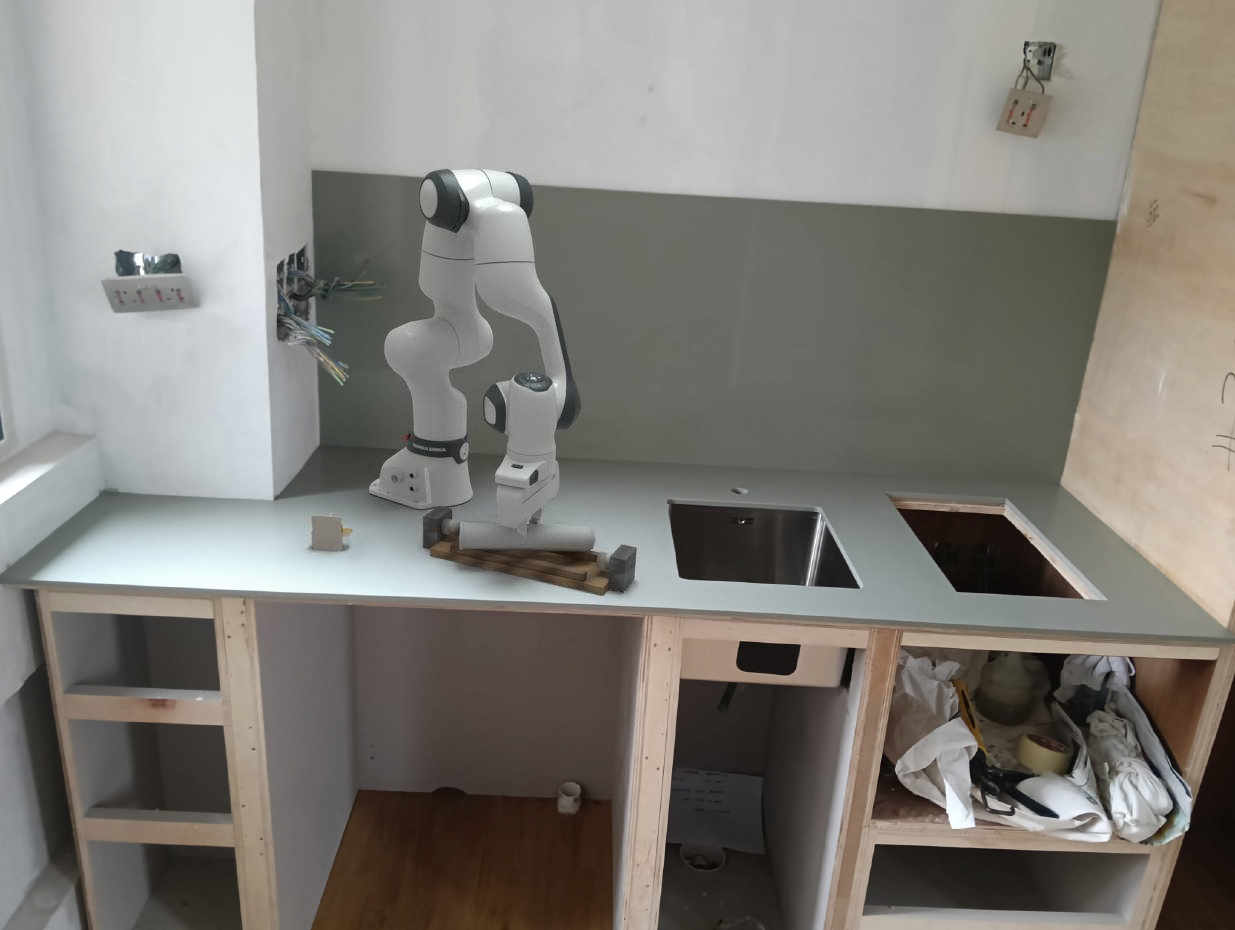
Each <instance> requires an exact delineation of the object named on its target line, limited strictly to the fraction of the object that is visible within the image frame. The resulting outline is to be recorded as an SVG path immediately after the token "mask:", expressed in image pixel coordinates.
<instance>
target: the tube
mask: <svg viewBox="0 0 1235 930" xmlns="http://www.w3.org/2000/svg"><path fill="white" fill-rule="evenodd" d="M526 524H527V528H529V530H528V533H527V536H526V539H525V538H524V536H522V535H521V534H519V533H518V532H517V528H508V527H504V526H500V525H499V523H498V522H473V521H472V522H471V521H470V522H469V521H465V520H461V523H460V536H459V547H460V550H463V549H501V550H537V551H574V552H587V551H589V550H594V547H595V543H596V540H597V539H596V534H595V530H594V528H592V527H590V526H589V525H576V524H575V525H573V524H572V525H571V524H529V523H526Z"/></svg>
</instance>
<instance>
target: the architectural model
mask: <svg viewBox="0 0 1235 930" xmlns="http://www.w3.org/2000/svg"><path fill="white" fill-rule="evenodd" d="M310 517H311V549H312V550H318V551H331V552H343V538H350V536H351V534H352V533H353V531H354V528H351V527H350V528H349V527H348V528H347V527H343V526H344V525H343V524H342V516H335V515H334V516H333V512H330V513H329V514H328V515H316V514H315V515H314V514H312V515H310Z"/></svg>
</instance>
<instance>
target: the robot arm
mask: <svg viewBox="0 0 1235 930" xmlns="http://www.w3.org/2000/svg"><path fill="white" fill-rule="evenodd" d="M418 201H419V202H418V204H419V209H420V212H421V214H422V216H423V217H424V218H425V220H426V221H425V225H424V231H423V235H422V241H421V242H422V243H421V251H420V253H421V254H420V264H419V274H418V285H419V287H420V290H421V292H422V293H423V294H424V295H425V296H426V297H427V298H428V299H431V300H432V302H433V305H434V306H433V307H434V314H433V317H430V318H425V319H420V320H414V321H409V322H407V323H404V324H402V325H400V326H398V327H396V328H393V329H392V330H390V331H389V332H388V334H387V335H386V337H385V340H384V344H383V349H384V351H383V352H384V356H385V361H386V362H387V364H388V366H389V367H390V369H392V371H394V373H396V374H398V375H399V376H400V377H401V378H402V379H403V380H404V382H405V383H406V385H407V386H408V389H409V392H410V395H411V398H412V399H411V401H412V414H413V430H411V431H409V432H407V434H405V435H404V436H402V438H403V439H402V442H406V441H407V444H406V445H405V447H404V448H402V449H401V450H399V451H398V452H396V453H395V454H394V455H391V456H390V457H389V458H388V459H386V461H384V462H383V464H382V465H381V466H382V467H381V470H380V474H379V477H378V478H377V479H375V480H374V481H373V482H372V483H370V485H369V489H368V493H369V494H371V495H373V496H377V497H380V498H383V499H386V500H389V501H392V502H395V503H398V504H401V505H405V506H407V507H410V508H413V509H416V510H424V509H425V510H426V509H430V508H436V507H438V506H442V507H451V506H457V505H461V504H463V503H466V502H468V501H469V500H472V498H473V496H474V491H473V488H472V485H471V484H472V483H471V481H470V474H469V473H470V472H469V466H468V465H469V464H468V458H469V457H468V456H469V432H468V431H467V420H468V419H467V415H468V414H467V412H468V410H467V407H468V405H467V404H468V403H467V399H466V397H465V394H464V393H463V392H461V391H460V390H458V389H457V388H455V387H454V386H452V383H451V380H450V375H449V373H450V370H453V369H458V368H462V367H465V366H470V365H471V366H472V364H474V363H477V362H479V361H480V360H483V359H485V358H486V357H488V355H489V354H490V353H491V351H492V350H493V345H494V334H493V330H492V328H491V325H490V324H489V322H488V321H487V319H485V317H483V316H482V315H481V313H480V311H479V308H478V304H477V300H476V290H477V293H478V296H479V297H480V298H481V300H482V302H483V303H485V304H486V305H487V306H488V307H489V308H491V309H492V310H493V311H496V312H497V313H499V314H502V315H504V316H507V317H510V318H513V319H516V320H519V321H520V322H522V323H525V324H526V325H528V326H529V327H531V328H532V330H533V331H534V332H535V334H536V336H537V340H538V343H539V347H540V352H541V357H542V361H543V365H544V369H545V374H544V373H541V372H537V371H523V372H519V373H517V374H515V375H513V377H512V378H511V379H510V380H503V381H499V382H493V383H492V384H491V385H490V386H489V387H488V389H487V390H486V391H485V394H484V395H483V399H482V400H483V401H482V411H483V420H484V422H485V423H486V424H487V425H488V426H489V428H491V429H492V430H493V431H495V432H497V433H499V434H501V435H502V434H506V435H507V437H508V441H507V443H506V444H507V445H506V454H505V456H504V457H503V461H501V464H500V466H499V467H498V468H497V470H496V471H495V473H494V482H495V483H496V484H498V485H497V489H496V496H495V497H496V500H495V501H496V502H495V505H496V506H495V508H496V509H495V510H496V511H495V512H496V521H497V523H499V525H500V526H504V527H508V528H517V532H518V533H519V534H521V535H522V536H524V538H525V539H526V536H527V533H528V530H529V528H527V524H541V523H542V517H543V513H544V510H545V505H546V504H547V503H548V502H550V501H551V500H552V499H553V498H554V497H556V496H557V495H558V493H559V489H560V466H559V462H558V460H556V458H557V457H556V454H557V453H556V452H557V445H556V441H555V432H556V431H565V430H569V428H570V427H571V426H573V424H575V422H576V421H577V420H578V418H579V416H580V414H581V412H582V399H581V395H580V392H579V388H578V386H577V383H576V380H575V377H574V374H573V370H572V366H571V360H570V358H569V353H568V352H569V351H568V349H567V348H568V347H567V342H566V339H565V334H564V329H563V325H562V321H561V316H560V313H559V310H558V306H557V303H556V300H555V298H554V297H553V295H552V294H551V293H550V292H548V291H547V290H545V289H544V287H543V286H542V284H541V282H540V279H539V278H538V277H539V276H538V274H537V271H536V262H535V249H534V243H533V237H532V233H531V226H530V222H529V219H530V217H531V215H532V213H533V211H534V207H535V206H534V205H535V196H534V191H533V188H532V185H531V184H530V181H528V178H526V177H525V176H523V175H522V174H518V173H515V172H512V171H504V172H503V171H499V170H494V169H487V168H486V169H485V168H475V169H472V168H470V169H468V168H467V169H452V170H451V169H449V168H444V169H443V168H441V169H437V170H433V171H430V172H428V173H427V174H426V175H425V176H424V178H423V180H422V181H421V184H420V186H419V194H418Z"/></svg>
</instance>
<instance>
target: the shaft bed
mask: <svg viewBox="0 0 1235 930" xmlns="http://www.w3.org/2000/svg"><path fill="white" fill-rule="evenodd" d="M461 521H462V520H461ZM461 521H460V520H456V519H453V508H452V507H451V508H450V507H448V506H438V507H434V508H433V509H432V510H430V511H428V512H427V513H426V514H424V515H422V549H426V550H429V556H430V557H434V558H438V559H443V560H447V561H452V562H455V563H461V564H465V565H468V566H473V567H477V568H482V569H485V570H486V569H487V570H492V571H494V572H495V571H496V572H501V573H504V574H508V575H513V576H517V577H521V578H524V579H525V578H526V579H530V580H534V581H538V582H539V581H540V582H542V583H548V584H552V585H556V586H561V587H566V588H569V589H573V590H578V591H582V592H587V593H592V594H595V595H600V596H604V594H605V593H607V591H608V590H609V591H613V592H617V593H622V594H624V593H625V592H626V591H627V590H628V588H629V587H630V585H631V584H632V583H633V581H635V579H636V578H635V576H636V574H635V573H636V562H637V550H638V549H637V547H636V546H631V545H628V544H627V545H626V544H620V545H619V546H618V547H617V549H615V550H614V551H613V553H609V552H604V551H596V550H593V549H591V550H589V551H587V552H574V551H537V550H501V549H463V550H460V547H459V536H460V523H461Z"/></svg>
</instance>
